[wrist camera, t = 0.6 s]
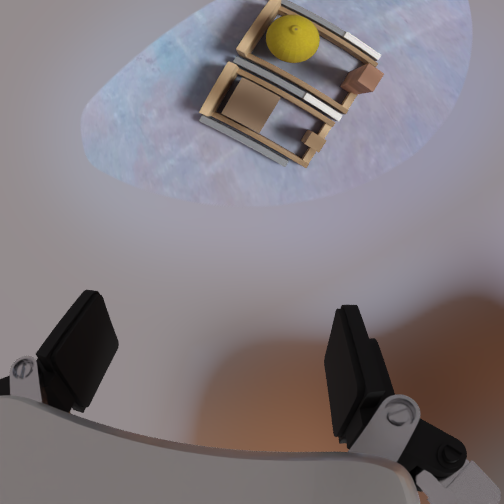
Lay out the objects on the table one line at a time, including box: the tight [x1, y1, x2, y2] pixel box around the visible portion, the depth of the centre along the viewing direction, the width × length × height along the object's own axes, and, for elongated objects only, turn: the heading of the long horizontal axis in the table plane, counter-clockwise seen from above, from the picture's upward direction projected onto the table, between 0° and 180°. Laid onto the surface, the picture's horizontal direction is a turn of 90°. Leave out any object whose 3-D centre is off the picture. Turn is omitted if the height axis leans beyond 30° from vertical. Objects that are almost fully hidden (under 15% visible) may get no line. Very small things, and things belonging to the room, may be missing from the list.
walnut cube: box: [221, 77, 281, 133], centre depth 29 cm, size 4×4×4 cm
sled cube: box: [199, 61, 335, 168], centre depth 30 cm, size 6×14×4 cm, turn 61°
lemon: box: [266, 15, 320, 63], centre depth 24 cm, size 6×6×8 cm
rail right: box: [199, 115, 289, 167], centre depth 32 cm, size 1×11×2 cm, turn 61°
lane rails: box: [233, 0, 381, 121], centre depth 27 cm, size 10×14×2 cm
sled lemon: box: [236, 0, 384, 114], centre depth 24 cm, size 8×14×8 cm, turn 61°
